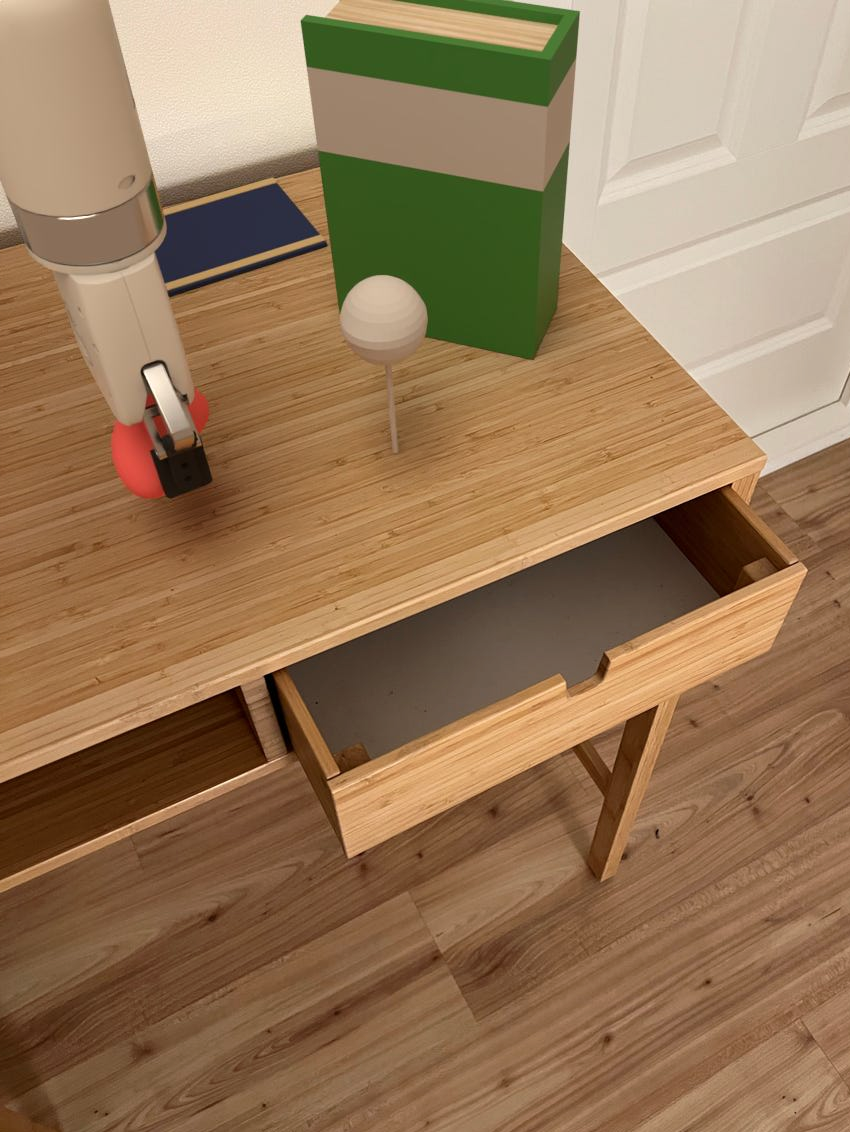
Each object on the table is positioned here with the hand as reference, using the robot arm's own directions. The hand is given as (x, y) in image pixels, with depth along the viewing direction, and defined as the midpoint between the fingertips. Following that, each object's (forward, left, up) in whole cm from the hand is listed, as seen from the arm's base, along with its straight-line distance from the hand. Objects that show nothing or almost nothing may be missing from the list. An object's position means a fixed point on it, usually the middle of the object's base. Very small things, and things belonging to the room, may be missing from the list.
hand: (165, 446), depth 68 cm
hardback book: (+28, +12, -7) cm, 31 cm away
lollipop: (+16, -1, -7) cm, 18 cm away
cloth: (+14, +33, -7) cm, 36 cm away
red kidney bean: (0, 0, -1) cm, 2 cm away
